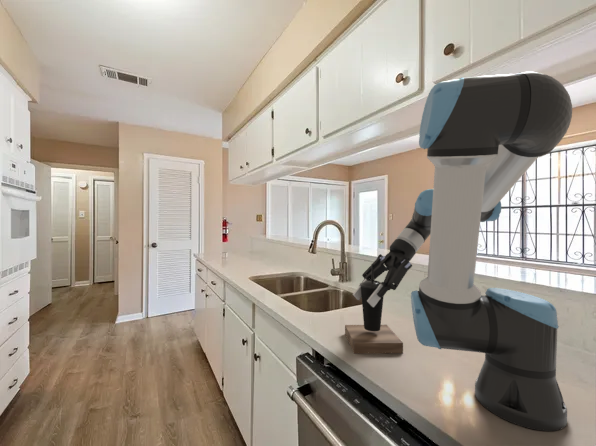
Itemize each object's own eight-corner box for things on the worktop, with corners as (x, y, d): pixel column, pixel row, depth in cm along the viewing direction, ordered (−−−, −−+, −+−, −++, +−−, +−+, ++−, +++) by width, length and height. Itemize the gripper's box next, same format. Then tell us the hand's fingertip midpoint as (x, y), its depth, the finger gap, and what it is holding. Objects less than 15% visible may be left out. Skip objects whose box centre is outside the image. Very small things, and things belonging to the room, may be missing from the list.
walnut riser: (402, 353, 83) (403, 343, 83) (354, 353, 82) (354, 343, 82) (386, 333, 97) (386, 324, 97) (344, 333, 96) (345, 324, 96)
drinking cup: (379, 335, 84) (379, 266, 84) (355, 329, 89) (355, 264, 89) (388, 327, 90) (389, 263, 90) (365, 322, 95) (366, 261, 95)
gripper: (436, 257, 86) (391, 319, 80) (392, 250, 104) (352, 299, 98) (423, 239, 83) (375, 301, 78) (379, 235, 102) (338, 285, 96)
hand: (362, 300), depth 88 cm, fingers closed on drinking cup, 7 cm apart
